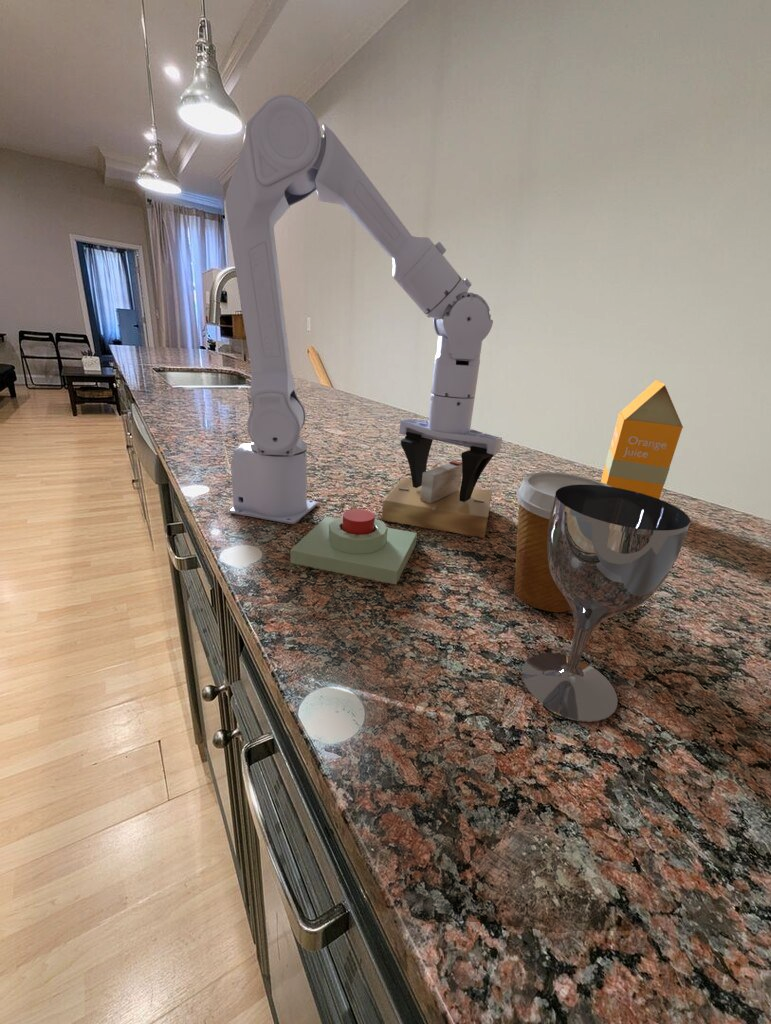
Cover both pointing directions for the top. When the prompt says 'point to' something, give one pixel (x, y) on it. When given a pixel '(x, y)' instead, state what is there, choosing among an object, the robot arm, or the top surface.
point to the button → (358, 522)
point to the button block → (356, 550)
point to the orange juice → (643, 443)
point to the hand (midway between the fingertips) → (440, 492)
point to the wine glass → (600, 583)
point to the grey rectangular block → (441, 481)
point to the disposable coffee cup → (539, 539)
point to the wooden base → (438, 510)
